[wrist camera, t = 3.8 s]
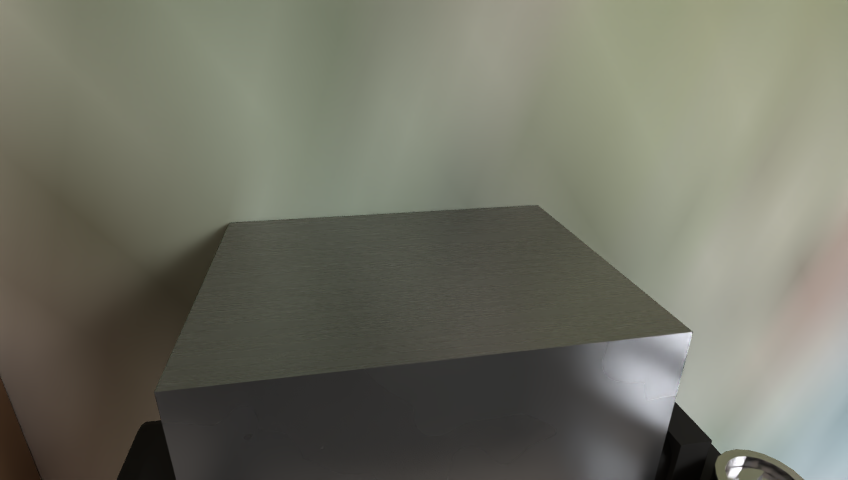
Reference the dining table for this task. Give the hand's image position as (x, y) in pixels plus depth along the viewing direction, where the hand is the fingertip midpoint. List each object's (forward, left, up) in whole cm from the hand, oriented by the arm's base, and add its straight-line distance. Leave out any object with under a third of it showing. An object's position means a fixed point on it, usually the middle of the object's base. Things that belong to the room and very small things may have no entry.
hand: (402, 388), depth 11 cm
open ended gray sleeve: (0, +3, -1) cm, 4 cm away
